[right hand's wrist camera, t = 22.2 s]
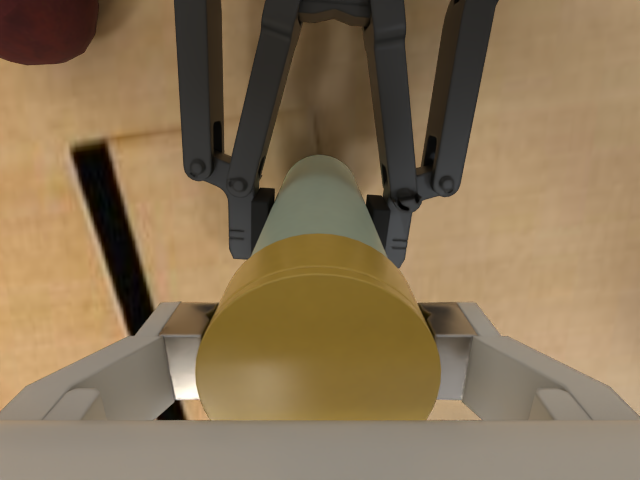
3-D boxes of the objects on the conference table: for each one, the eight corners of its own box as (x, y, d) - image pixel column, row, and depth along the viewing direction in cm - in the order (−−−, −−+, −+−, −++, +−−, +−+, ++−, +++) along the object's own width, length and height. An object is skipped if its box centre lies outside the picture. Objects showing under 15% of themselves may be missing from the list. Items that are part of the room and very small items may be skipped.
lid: (181, 324, 10) (144, 385, 8) (317, 188, 9) (317, 218, 7) (319, 427, 12) (319, 503, 9) (455, 322, 10) (492, 383, 8)
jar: (361, 157, 23) (438, 275, 8) (352, 230, 25) (404, 443, 10) (284, 151, 23) (212, 260, 8) (281, 225, 25) (216, 432, 10)
